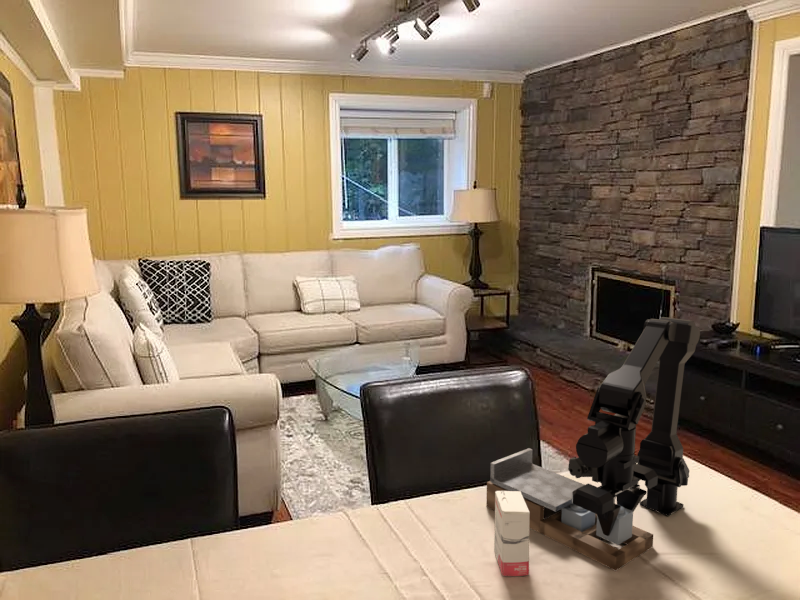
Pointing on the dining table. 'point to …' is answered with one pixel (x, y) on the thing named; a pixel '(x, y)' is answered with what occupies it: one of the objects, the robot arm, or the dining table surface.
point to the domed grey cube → (618, 527)
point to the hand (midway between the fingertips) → (613, 530)
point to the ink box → (511, 533)
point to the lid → (533, 480)
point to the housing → (581, 535)
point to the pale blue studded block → (577, 517)
